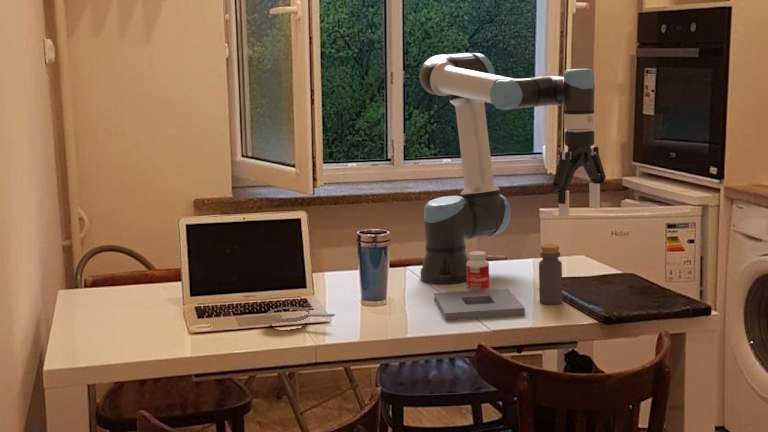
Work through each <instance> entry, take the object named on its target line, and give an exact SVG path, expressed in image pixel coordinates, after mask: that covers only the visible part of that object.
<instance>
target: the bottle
mask: <svg viewBox="0 0 768 432" xmlns="http://www.w3.org/2000/svg"><path fill="white" fill-rule="evenodd" d="M540 249H541V251H540V254H539V255H540V256H539V257H540V258H541V259H542V260H540V261H539V264H538V282H539V283H538V285H539V289H538V290H539V291H538V292H539V293H538V294H539V303H540V304H542V305H547V306H548V305H549V306H553V305H556V306H557V305H559V304H563V264H562V261H560V260H559V258H560V257H561V252H560V251H559V250H560V245H558V244H553V243H551V244H550V243H547V244H542V245H541V246H540Z"/></svg>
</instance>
